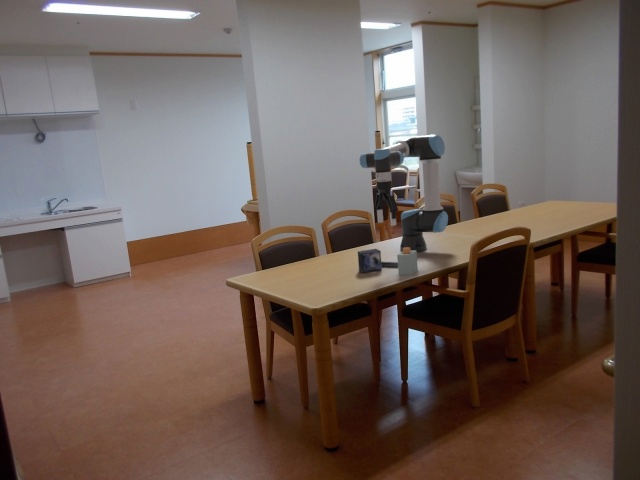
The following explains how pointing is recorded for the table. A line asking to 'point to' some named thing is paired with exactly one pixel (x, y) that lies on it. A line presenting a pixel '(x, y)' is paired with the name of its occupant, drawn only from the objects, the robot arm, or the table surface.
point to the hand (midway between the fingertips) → (386, 224)
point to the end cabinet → (407, 263)
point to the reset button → (406, 250)
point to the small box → (369, 260)
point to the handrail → (389, 264)
